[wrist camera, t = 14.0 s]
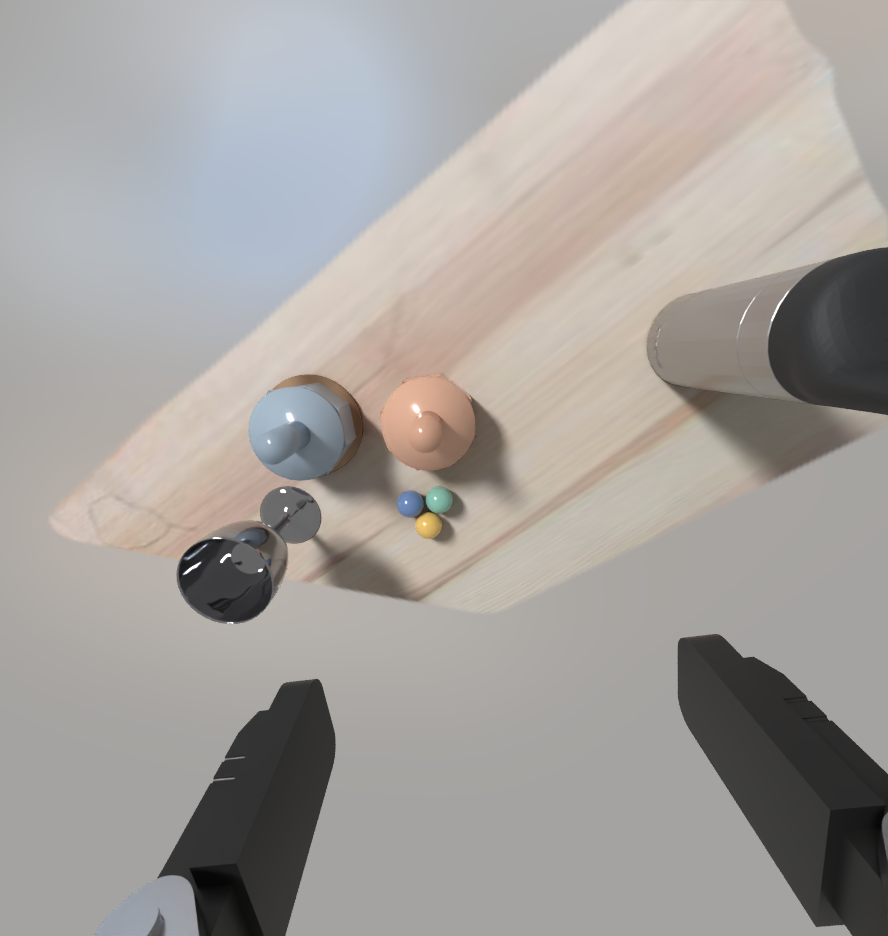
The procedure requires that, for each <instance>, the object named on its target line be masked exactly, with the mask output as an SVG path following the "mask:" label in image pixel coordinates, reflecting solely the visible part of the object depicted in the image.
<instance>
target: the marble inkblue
mask: <svg viewBox="0 0 888 936" xmlns="http://www.w3.org/2000/svg"><path fill="white" fill-rule="evenodd" d="M423 505H424V503H423V499H422V497H421V495H420V494H419V493H417V492H415V491H405V492H403V493H402V494H401V495H400V496H399V497H398V500H397V509H398V511H399V512H400V513H401V514H402V515H403V516H405V517H415V516H417V515H418V514H420V512H421V511H422V509H423Z"/></svg>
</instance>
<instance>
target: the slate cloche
mask: <svg viewBox="0 0 888 936" xmlns="http://www.w3.org/2000/svg"><path fill="white" fill-rule="evenodd" d="M249 438H250V442H251V445H252V448H253V450H254V452H255V454H256V456H257V457H258V459H259V460H260V461H261V462H262V464H263V465H265V466H266V467H267V468H268V469H269V470H270V471H272V472H273V473H275V474H277V475H279V476H281V477H284V478H287V479H290V480H309V479H314V478H316V477H319V476H322V475H327V474H328V473H329V472H330V471H331V470H332V469H333V468H334V467H335V466H336V465H337V464H338V463H339V461H340V460H341V458H342V457H343V456H344V454H345V453H346V451H347V450H348V448H349V447H350V446H351V444H352V443H353V441H354V440H355V438H356V434H355V429H354V424H353V419H352V414H351V409H350V404H349V403H348V402H346V401H345V400H344V399H342V398H341V397H340V396H338V395H337V394H335V393H334V392H333V391H331V390H330V389H328V388H327V387H326V386H324V385H323V384H322V383H320V382H318V383H313V384H306V385H300V386H293V387H285V388H280V389H275V390H270V391H268V393H267V394H266V396H264V397H263V398H262V399H261V400H260V401H259V402H258V403H257V405H256V406H255V408H254V410H253V412H252V414H251V417H250V421H249Z"/></svg>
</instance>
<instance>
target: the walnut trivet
mask: <svg viewBox="0 0 888 936" xmlns="http://www.w3.org/2000/svg"><path fill="white" fill-rule="evenodd" d="M318 382H320V383H322V384H323V385H324V386H326V387H327V388H328V389H330V390H331V391H333V392H334V393H335V394H337V395H338V396H340V397H341V398H342V399H344V400H345V401H346V402H348V403H349V404H350V409H351V414H352V419H353V424H354V429H355V434H356V438H355V440H354V441H353V443H352V444H351V446H350V447H349V448H348V450H347V451H346V453H345V454H344V456H343V457H342V458H341V460H340V461H339V463H338V464H337V465H336V466H335V467H334V468H333V469H332V470H331V471H330V472H333V471H336V470H338V469H339V468H341V467H342V466H344V465H345V464H346V463H347V462H348V461H349V460H350V459H351V458H352V457H353V456H354V454H355V453H356V451H357V449H358V447H359V445H360V442H361V438H362V418H361V414H360V411H359V409H358V406H357V404H356V402H355V401H354V399H353V398H352V396H351V395H350V394H349V393H348V392H347V391H346V390H345V389H344V388H343V387H342V386H341V385H339V384H338V383H336V382H334V381H332V380H330V379H328V378H325V377H322V376H317V375H299V376H295V377H291V378H289V379H286V380H284V381H283V382H281V383H280V384H278V385H277V386H276V387H275V388H274V389H273V390H275V389H280V388H285V387H293V386H300V385H306V384H313V383H318ZM330 472H329V473H330Z"/></svg>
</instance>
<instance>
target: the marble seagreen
mask: <svg viewBox="0 0 888 936" xmlns="http://www.w3.org/2000/svg"><path fill="white" fill-rule="evenodd" d="M452 502H453V498H452V494H451V493H450V491H449V490H448V489H446V488H444V487H435V488H432V489H431V490H430V491H429V492H428V494H427V496H426V504H427V506H428V508H429V509H430V510H431V511H432V512H434V513H438V514H440V513H444V512H446V511H448V510H449V509H450V507H451V506H452Z"/></svg>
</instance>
